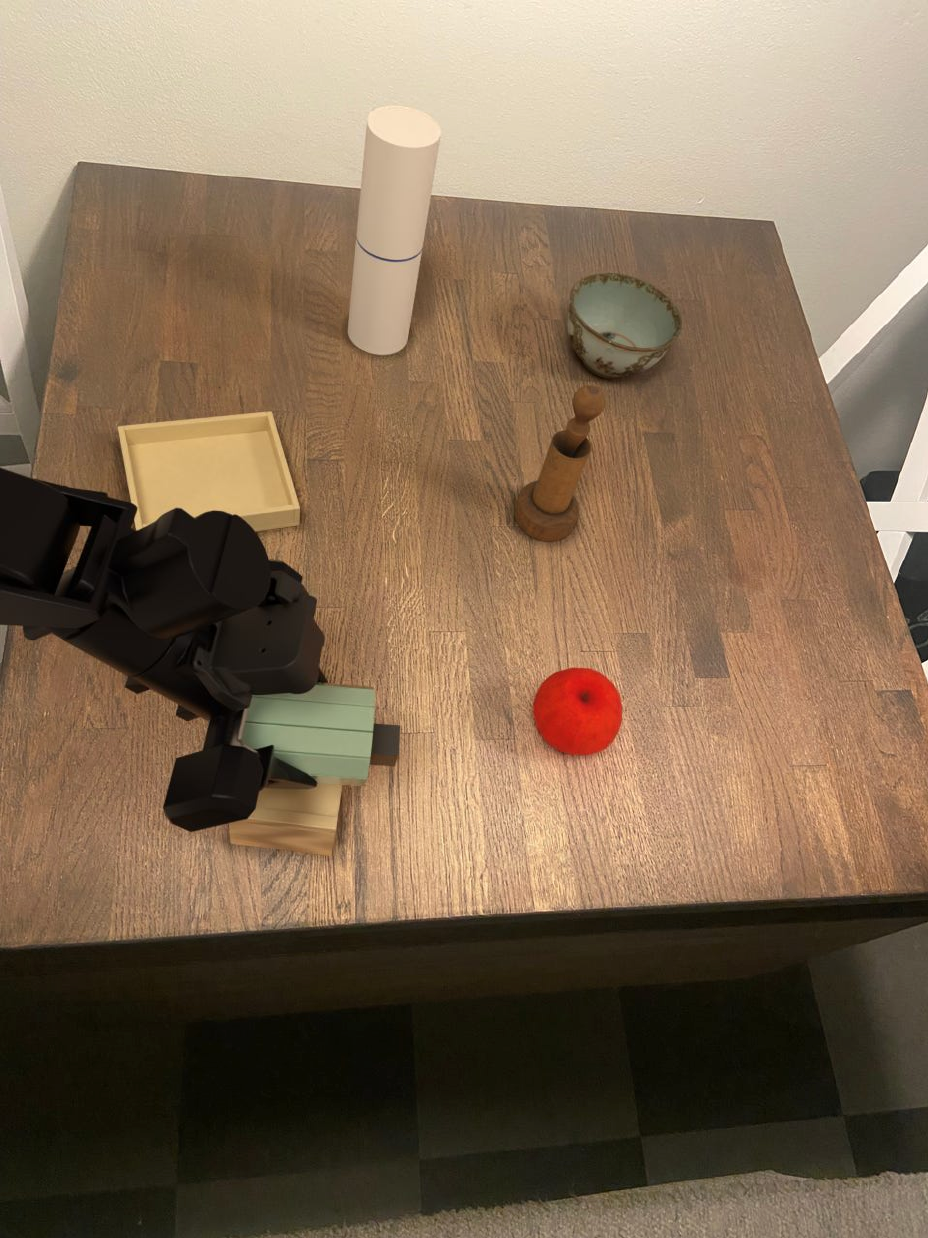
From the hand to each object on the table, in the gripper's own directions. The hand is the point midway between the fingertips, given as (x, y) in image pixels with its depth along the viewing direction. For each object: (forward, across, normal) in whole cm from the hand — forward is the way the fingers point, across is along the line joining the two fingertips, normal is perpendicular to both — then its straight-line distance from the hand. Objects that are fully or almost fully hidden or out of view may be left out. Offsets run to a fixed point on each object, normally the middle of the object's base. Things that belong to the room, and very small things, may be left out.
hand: (320, 738), depth 67 cm
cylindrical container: (+7, +58, +9) cm, 60 cm away
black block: (+2, 0, -2) cm, 3 cm away
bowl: (+27, +61, -11) cm, 68 cm away
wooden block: (+7, 0, +9) cm, 11 cm away
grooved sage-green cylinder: (-2, 0, +1) cm, 2 cm away
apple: (+23, +10, -8) cm, 26 cm away
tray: (-3, +31, +19) cm, 37 cm away
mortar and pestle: (+21, +34, -6) cm, 41 cm away
